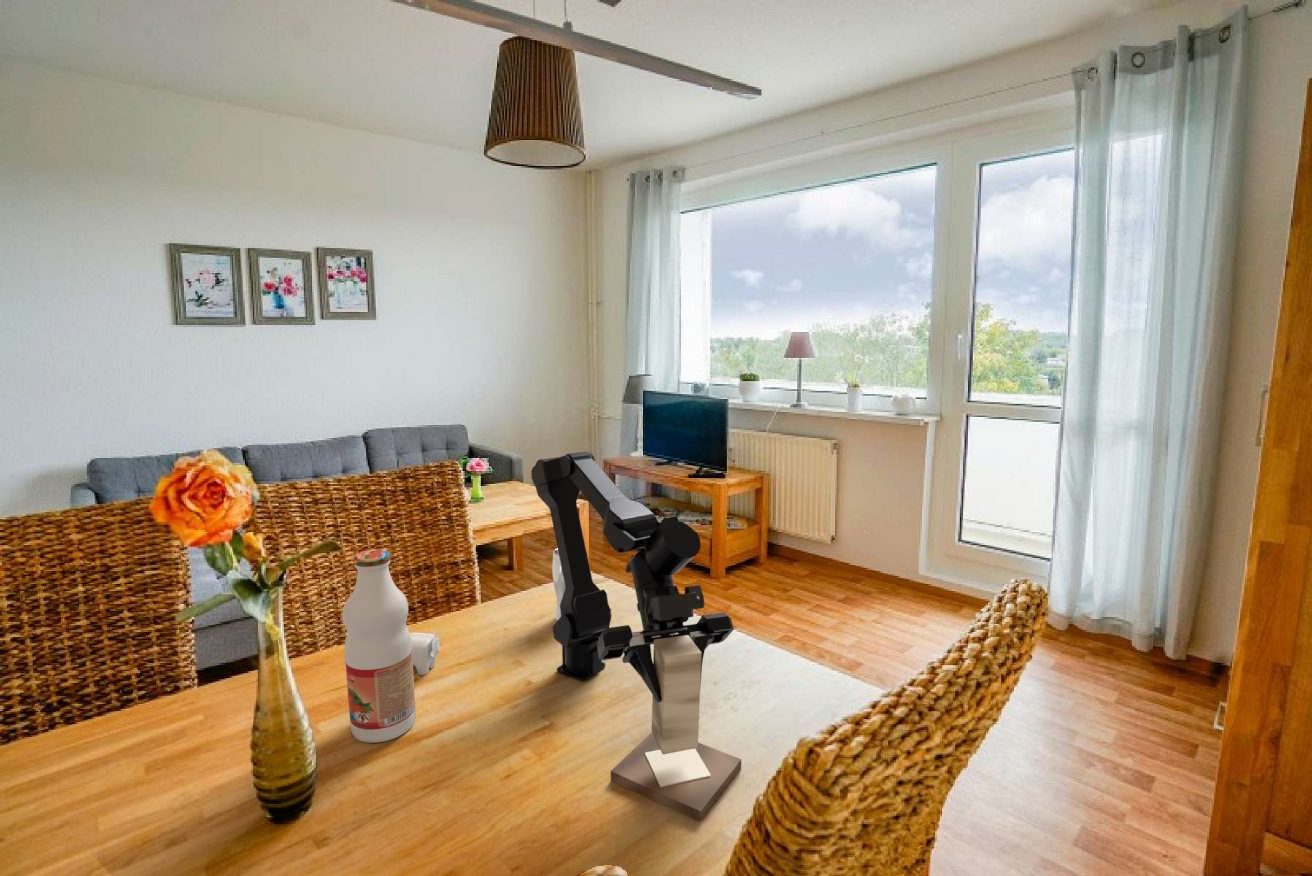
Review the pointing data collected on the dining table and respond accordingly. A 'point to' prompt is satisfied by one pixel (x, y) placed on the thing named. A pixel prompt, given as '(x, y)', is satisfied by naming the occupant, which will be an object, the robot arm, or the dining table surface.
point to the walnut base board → (677, 776)
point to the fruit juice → (378, 653)
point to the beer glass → (558, 581)
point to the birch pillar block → (676, 694)
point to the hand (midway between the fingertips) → (678, 698)
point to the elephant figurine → (424, 651)
